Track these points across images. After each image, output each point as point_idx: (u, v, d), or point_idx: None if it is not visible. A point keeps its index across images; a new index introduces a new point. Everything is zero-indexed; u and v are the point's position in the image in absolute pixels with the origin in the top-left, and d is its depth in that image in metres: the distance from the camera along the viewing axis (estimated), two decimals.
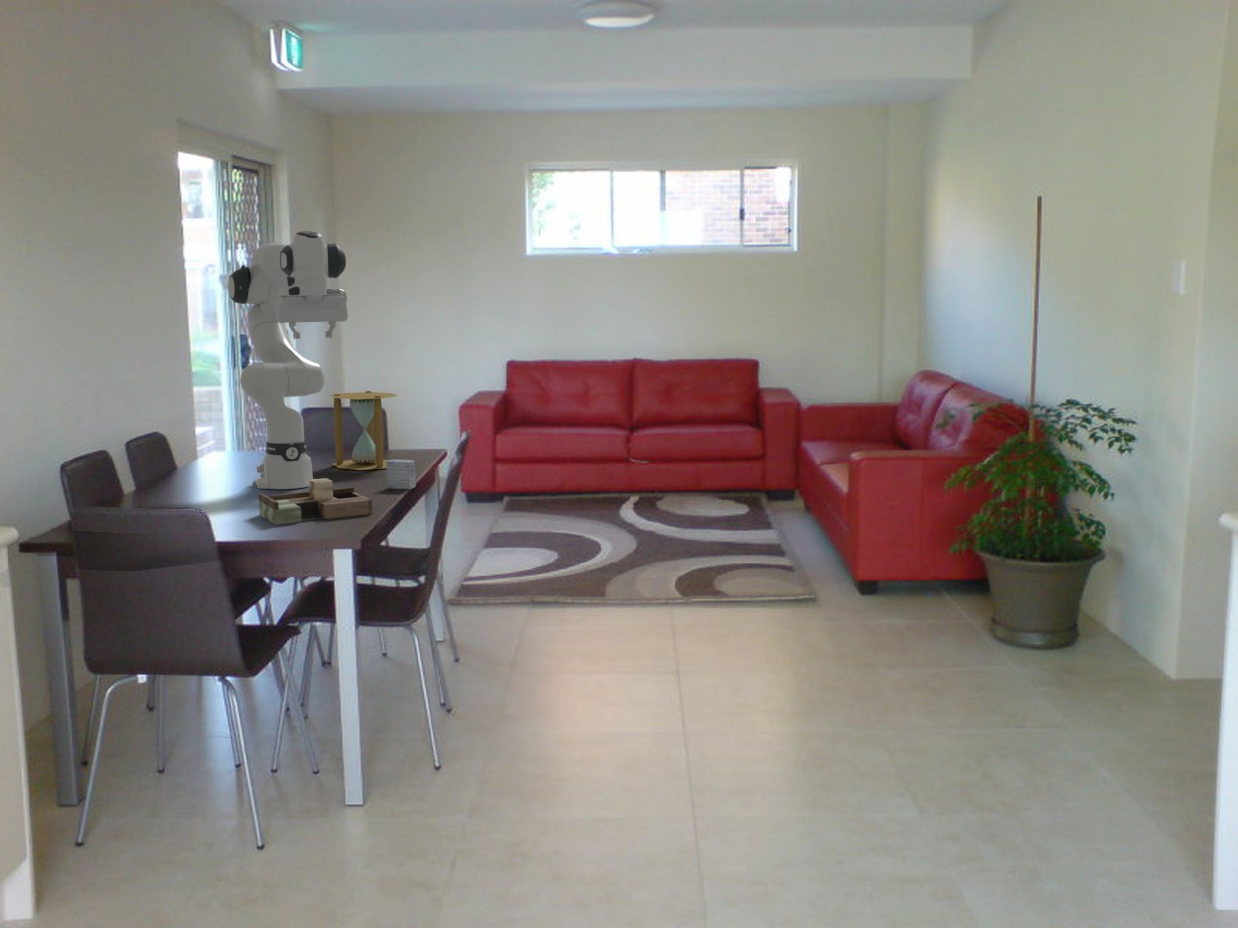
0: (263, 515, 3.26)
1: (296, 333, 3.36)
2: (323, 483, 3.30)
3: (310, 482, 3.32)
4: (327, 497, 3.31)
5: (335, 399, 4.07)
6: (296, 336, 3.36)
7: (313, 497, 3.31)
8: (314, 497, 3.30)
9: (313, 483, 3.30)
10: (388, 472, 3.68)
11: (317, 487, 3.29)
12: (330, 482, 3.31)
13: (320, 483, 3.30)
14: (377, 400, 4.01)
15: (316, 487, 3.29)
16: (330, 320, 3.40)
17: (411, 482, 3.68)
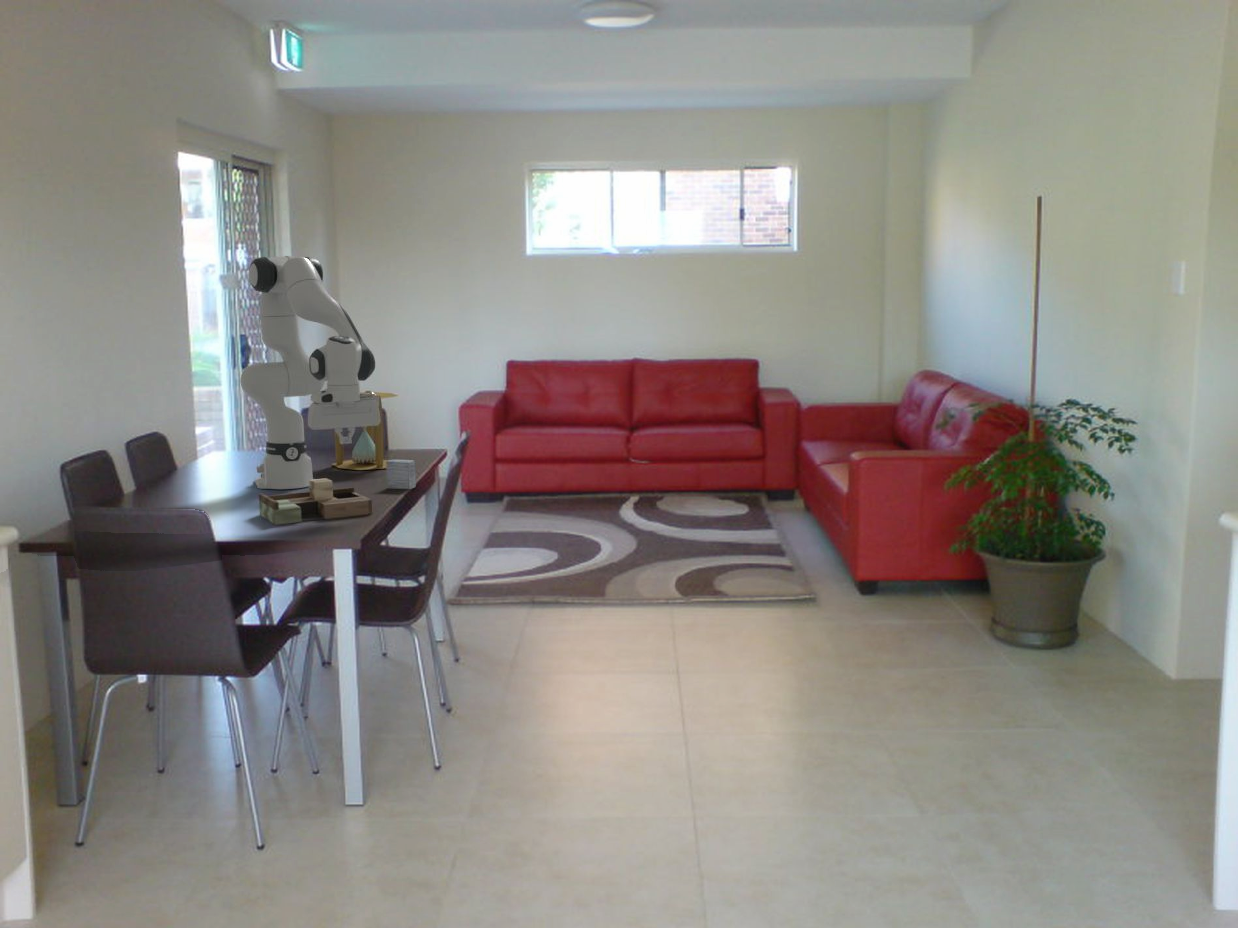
0: (263, 515, 3.26)
1: (343, 438, 3.33)
2: (323, 483, 3.30)
3: (310, 482, 3.32)
4: (327, 497, 3.31)
5: None
6: (343, 441, 3.33)
7: (313, 497, 3.31)
8: (314, 497, 3.30)
9: (313, 483, 3.30)
10: (388, 472, 3.68)
11: (317, 487, 3.29)
12: (330, 482, 3.31)
13: (320, 483, 3.30)
14: None
15: (316, 487, 3.29)
16: (363, 425, 3.35)
17: (411, 482, 3.68)
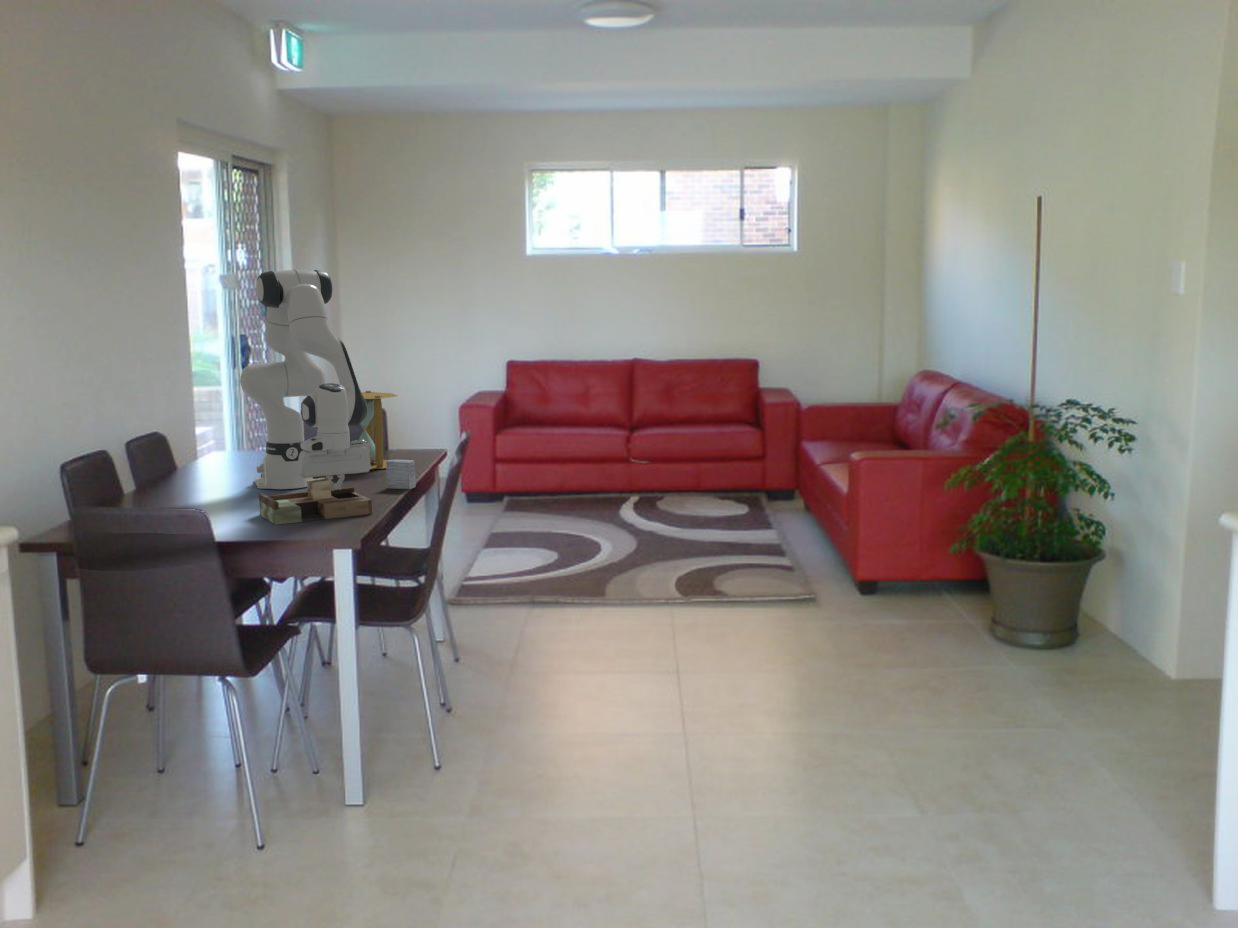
0: (263, 515, 3.26)
1: (333, 485, 3.33)
2: (320, 483, 3.29)
3: (308, 482, 3.32)
4: (325, 497, 3.31)
5: None
6: (333, 488, 3.33)
7: (311, 497, 3.31)
8: (312, 497, 3.30)
9: (310, 483, 3.29)
10: (388, 472, 3.68)
11: (315, 487, 3.29)
12: (327, 482, 3.31)
13: (317, 483, 3.29)
14: (377, 400, 4.01)
15: (314, 488, 3.29)
16: (353, 472, 3.35)
17: (411, 482, 3.68)
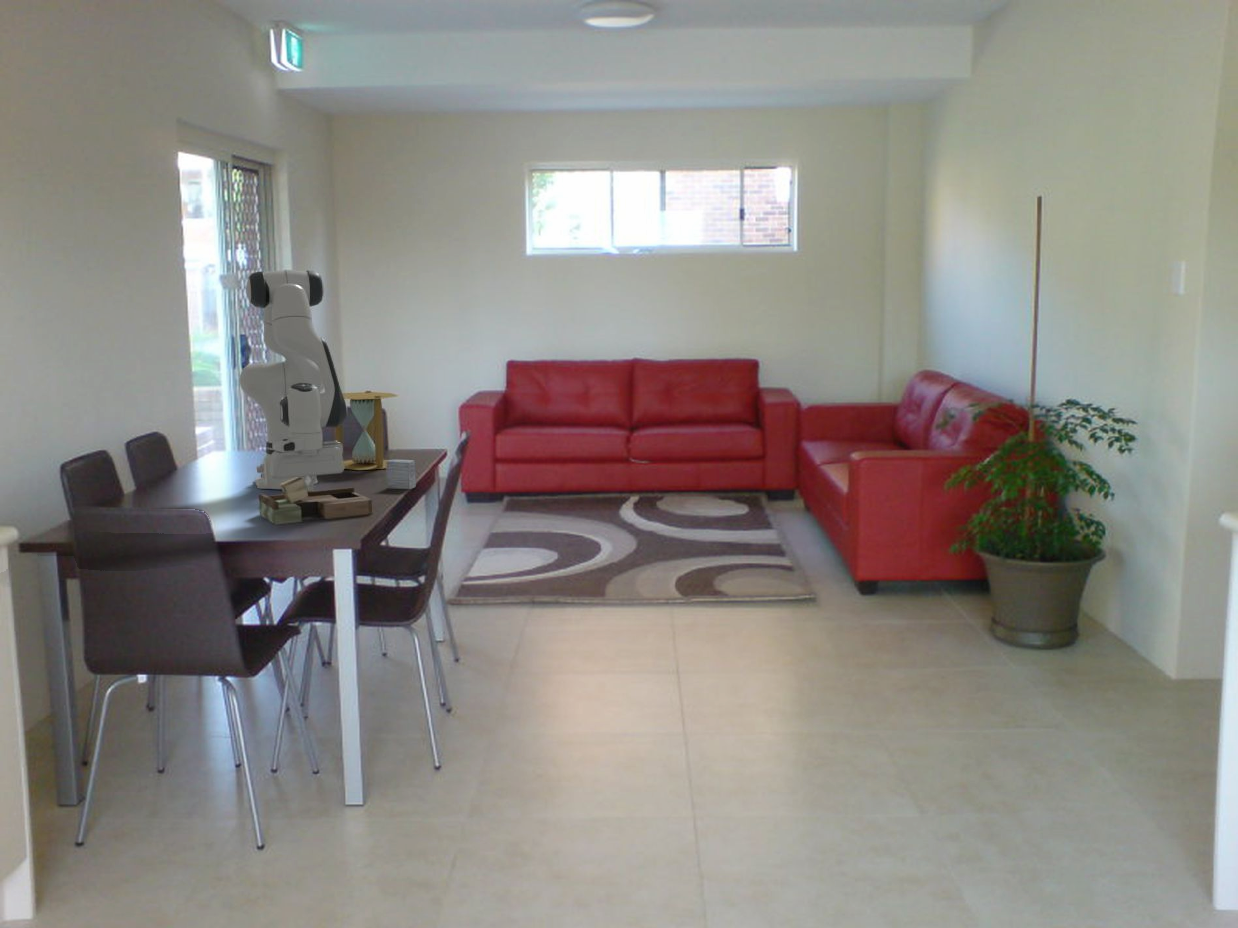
0: (263, 515, 3.26)
1: (307, 487, 3.28)
2: (294, 484, 3.25)
3: (281, 486, 3.27)
4: (302, 496, 3.27)
5: None
6: (307, 490, 3.29)
7: (288, 500, 3.27)
8: (289, 500, 3.26)
9: (284, 487, 3.25)
10: (388, 472, 3.68)
11: (289, 490, 3.24)
12: (300, 481, 3.26)
13: (291, 485, 3.25)
14: (377, 400, 4.01)
15: (288, 491, 3.24)
16: (326, 473, 3.30)
17: (411, 482, 3.68)
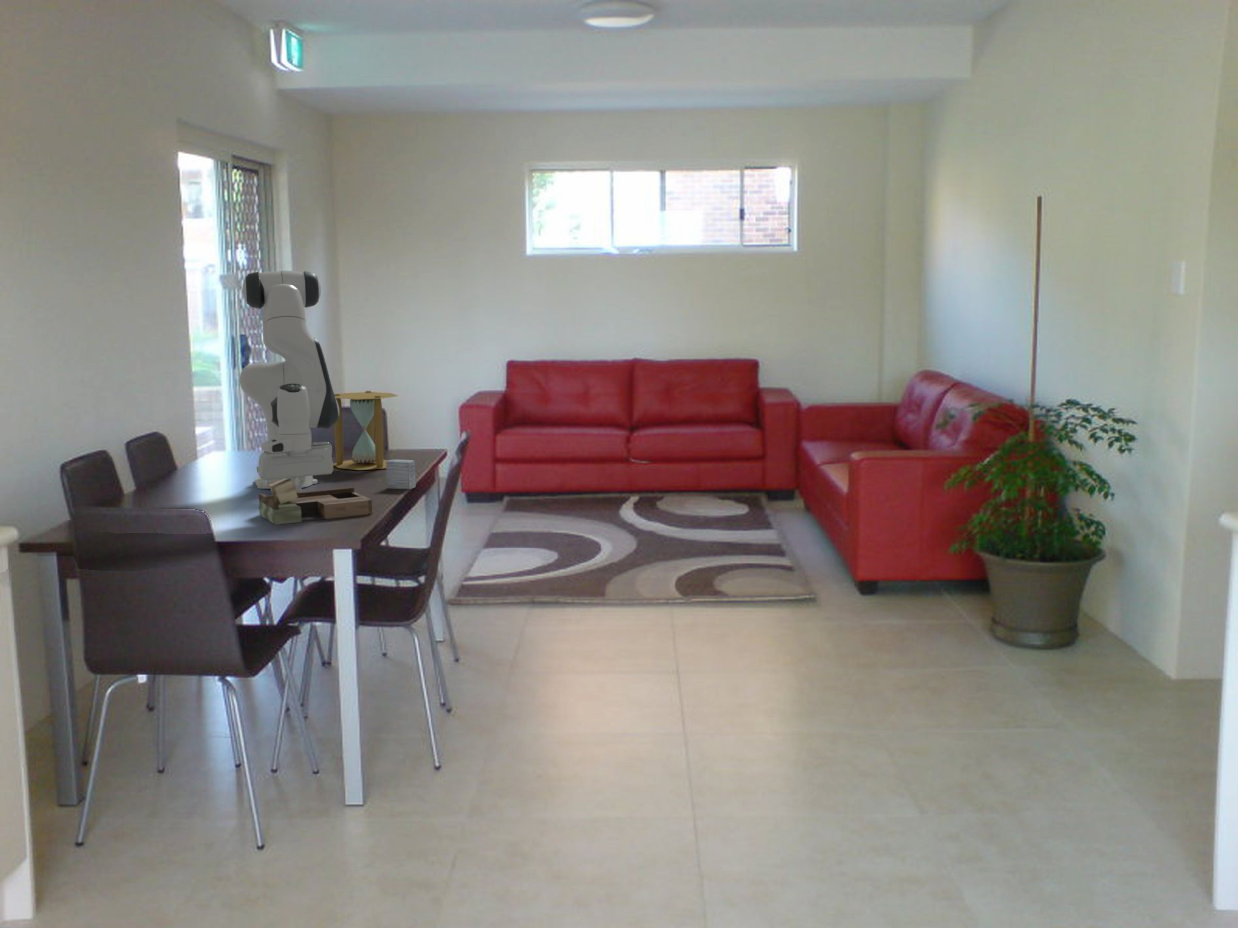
0: (263, 515, 3.26)
1: (296, 488, 3.27)
2: (283, 485, 3.23)
3: (271, 487, 3.26)
4: (291, 498, 3.25)
5: None
6: (296, 491, 3.27)
7: (278, 501, 3.25)
8: (279, 501, 3.24)
9: (273, 488, 3.23)
10: (388, 472, 3.68)
11: (278, 491, 3.23)
12: (290, 482, 3.24)
13: (280, 486, 3.23)
14: (377, 400, 4.01)
15: (277, 492, 3.23)
16: (315, 474, 3.29)
17: (411, 482, 3.68)
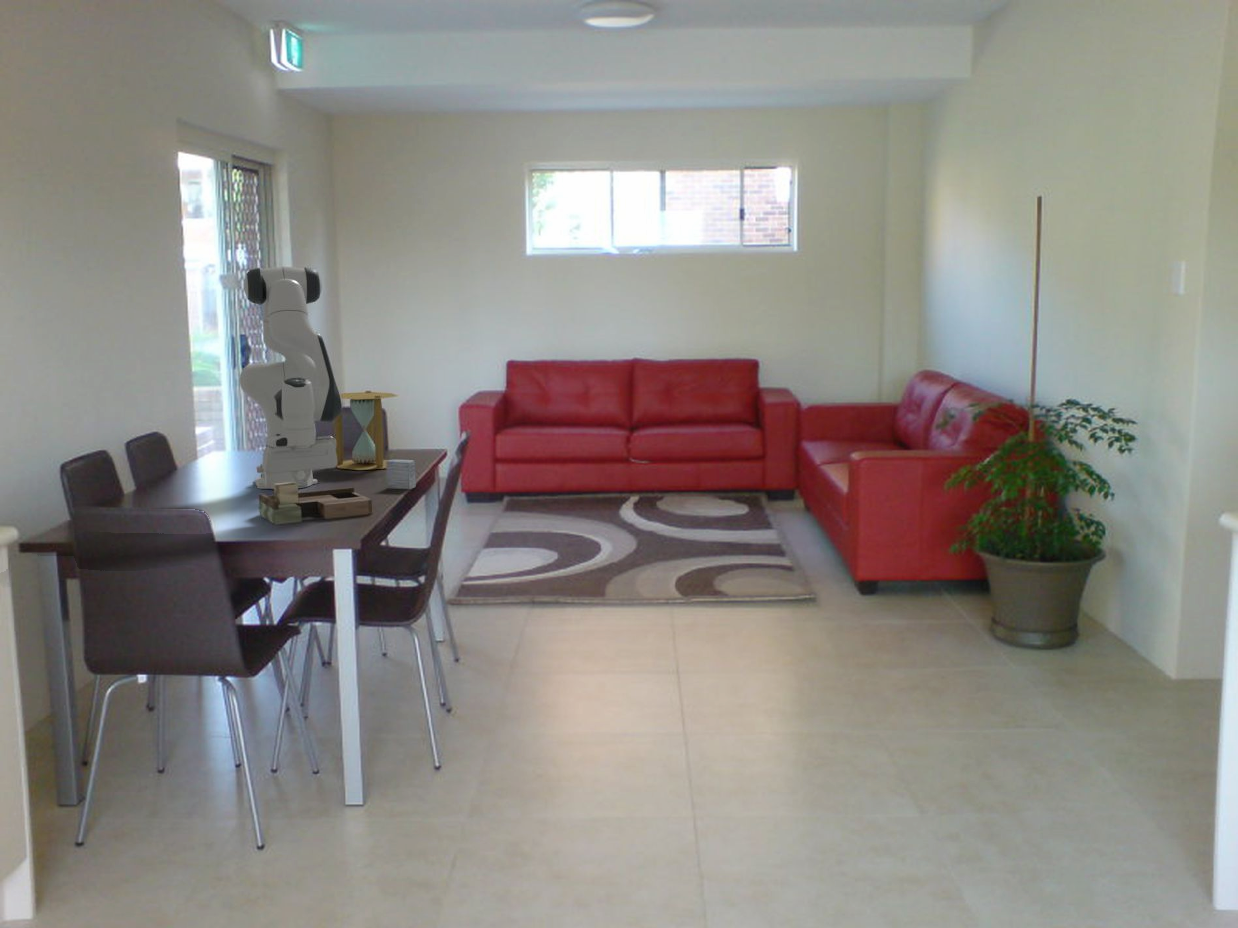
0: (263, 515, 3.26)
1: (298, 482, 3.28)
2: (288, 487, 3.24)
3: (275, 486, 3.26)
4: (292, 501, 3.25)
5: None
6: (298, 485, 3.28)
7: (278, 501, 3.25)
8: (279, 501, 3.24)
9: (278, 487, 3.24)
10: (388, 472, 3.68)
11: (282, 491, 3.23)
12: (295, 486, 3.25)
13: (285, 487, 3.24)
14: (377, 400, 4.01)
15: (281, 491, 3.23)
16: (319, 468, 3.30)
17: (411, 482, 3.68)
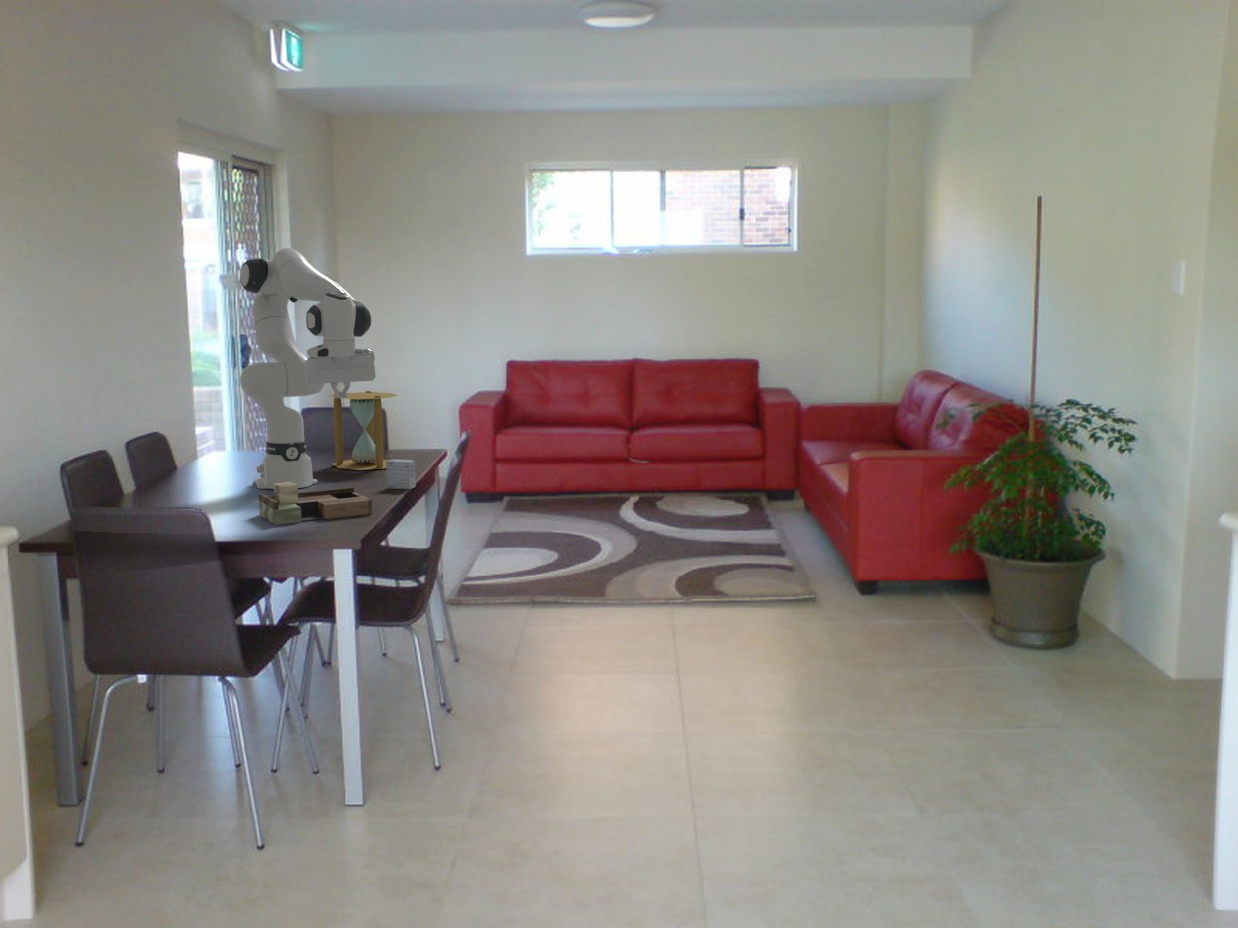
0: (263, 515, 3.26)
1: (338, 393, 3.40)
2: (288, 487, 3.24)
3: (275, 486, 3.26)
4: (292, 501, 3.25)
5: (335, 399, 4.07)
6: (338, 396, 3.40)
7: (278, 501, 3.25)
8: (279, 501, 3.24)
9: (278, 487, 3.24)
10: (388, 472, 3.68)
11: (282, 491, 3.23)
12: (295, 486, 3.25)
13: (285, 487, 3.24)
14: (377, 400, 4.01)
15: (281, 491, 3.23)
16: (358, 380, 3.41)
17: (411, 482, 3.68)
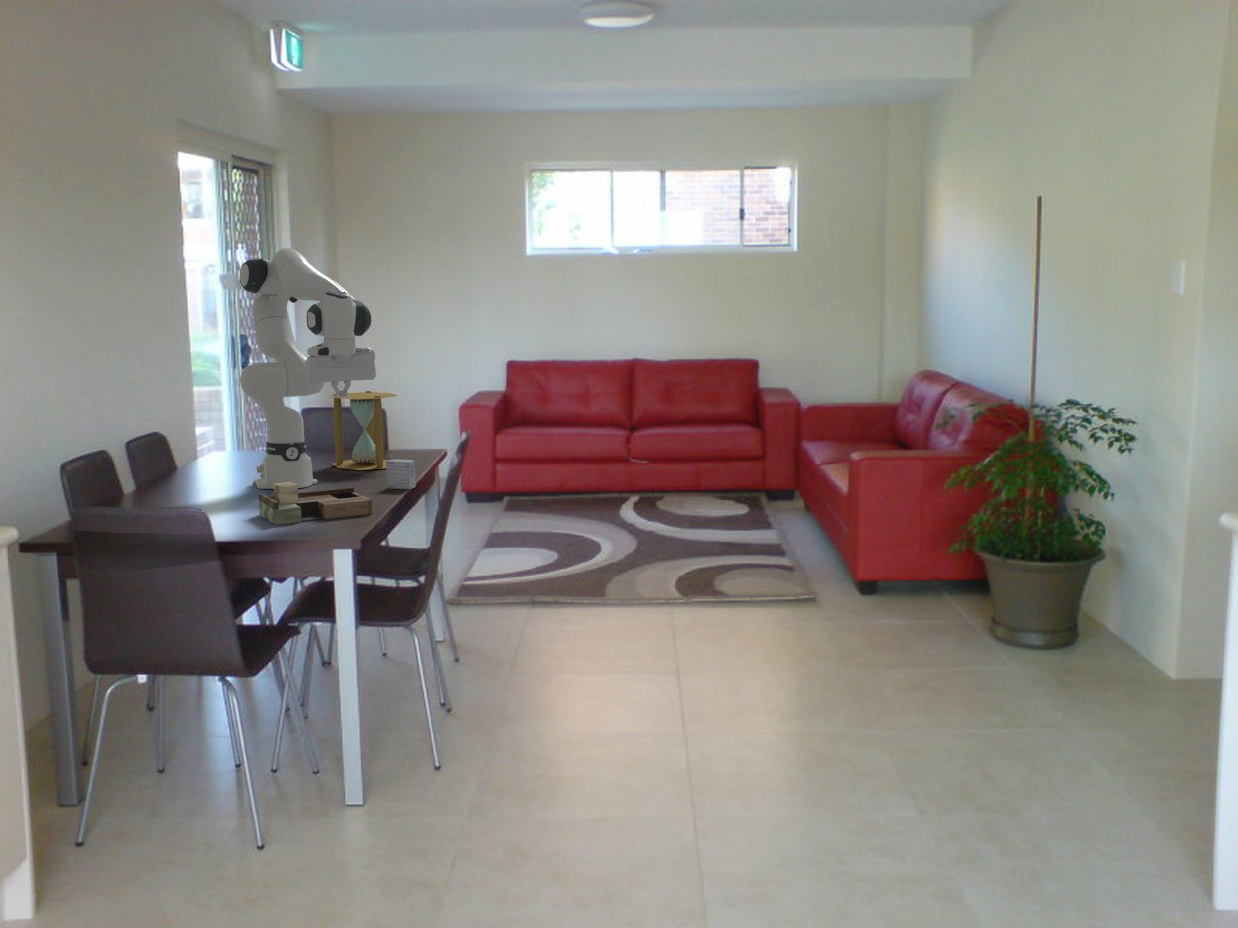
0: (263, 515, 3.26)
1: (339, 392, 3.40)
2: (288, 487, 3.24)
3: (275, 486, 3.26)
4: (292, 501, 3.25)
5: (335, 399, 4.07)
6: (339, 395, 3.40)
7: (278, 501, 3.25)
8: (279, 501, 3.24)
9: (278, 487, 3.24)
10: (388, 472, 3.68)
11: (282, 491, 3.23)
12: (295, 486, 3.25)
13: (285, 487, 3.24)
14: (377, 400, 4.01)
15: (281, 491, 3.23)
16: (358, 379, 3.42)
17: (411, 482, 3.68)
